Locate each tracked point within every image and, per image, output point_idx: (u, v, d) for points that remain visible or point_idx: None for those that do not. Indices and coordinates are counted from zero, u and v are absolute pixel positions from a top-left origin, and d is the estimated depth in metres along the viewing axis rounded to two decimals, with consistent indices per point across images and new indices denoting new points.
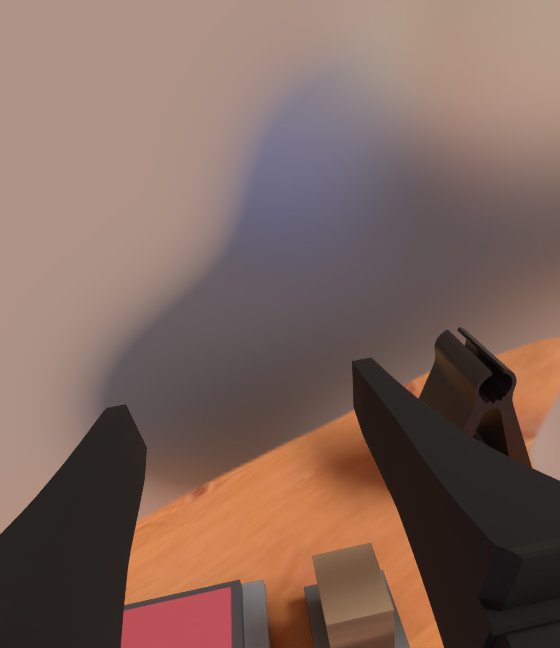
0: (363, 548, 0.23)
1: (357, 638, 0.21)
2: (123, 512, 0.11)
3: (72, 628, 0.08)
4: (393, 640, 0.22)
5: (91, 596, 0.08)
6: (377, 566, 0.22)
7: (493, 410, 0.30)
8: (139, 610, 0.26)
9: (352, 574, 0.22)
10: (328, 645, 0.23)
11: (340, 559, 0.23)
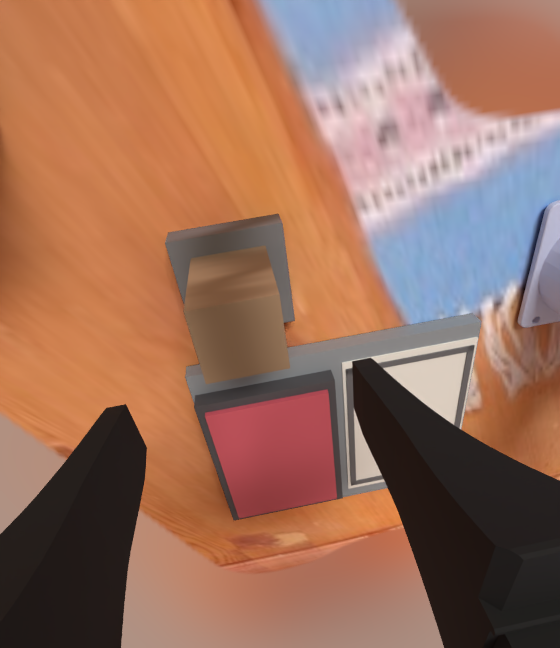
0: (192, 322, 0.15)
1: None
2: (123, 512, 0.11)
3: (72, 628, 0.08)
4: (269, 259, 0.17)
5: (91, 596, 0.08)
6: (220, 306, 0.14)
7: None
8: (229, 479, 0.26)
9: (231, 338, 0.15)
10: None
11: (210, 351, 0.16)
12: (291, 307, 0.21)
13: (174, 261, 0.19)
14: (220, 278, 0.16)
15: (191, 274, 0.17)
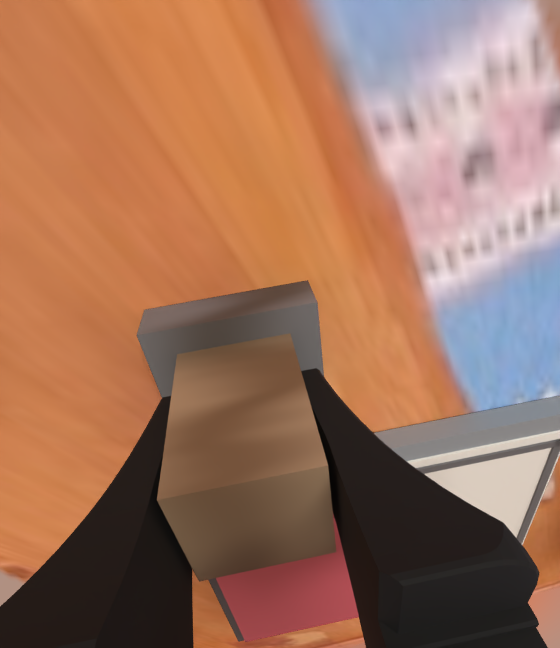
0: (174, 512, 0.08)
1: None
2: None
3: (160, 609, 0.08)
4: (299, 366, 0.11)
5: (170, 579, 0.08)
6: (224, 488, 0.08)
7: None
8: (233, 606, 0.20)
9: (242, 526, 0.09)
10: None
11: (206, 544, 0.09)
12: None
13: (152, 359, 0.12)
14: (222, 407, 0.10)
15: (177, 393, 0.11)
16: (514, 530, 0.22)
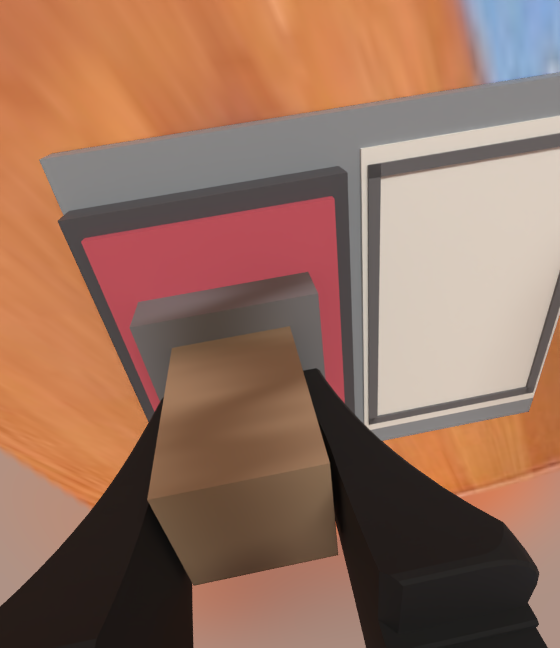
0: (166, 512, 0.08)
1: None
2: None
3: (160, 609, 0.08)
4: (299, 360, 0.11)
5: (170, 579, 0.08)
6: (218, 487, 0.08)
7: None
8: (153, 395, 0.14)
9: (238, 527, 0.08)
10: None
11: (200, 547, 0.09)
12: None
13: (145, 353, 0.12)
14: (218, 403, 0.09)
15: (170, 388, 0.10)
16: (536, 325, 0.17)
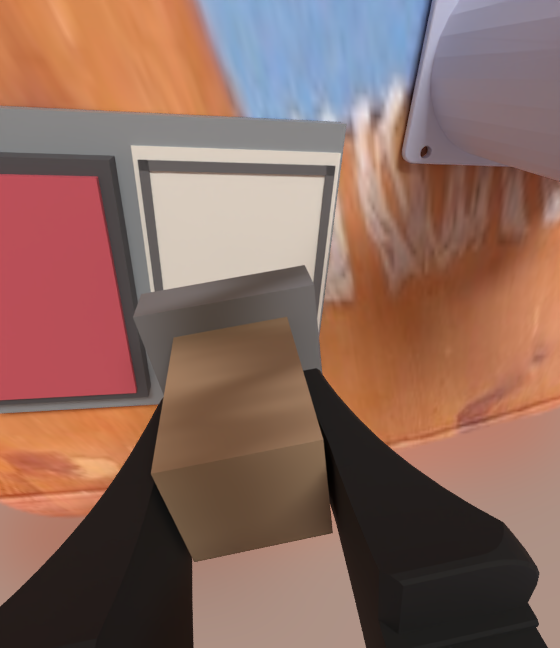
0: (168, 487, 0.08)
1: None
2: None
3: (161, 609, 0.08)
4: (295, 347, 0.11)
5: (170, 579, 0.08)
6: (218, 462, 0.08)
7: None
8: None
9: (237, 503, 0.09)
10: None
11: (200, 522, 0.09)
12: None
13: (148, 342, 0.12)
14: (218, 386, 0.10)
15: (172, 374, 0.11)
16: None
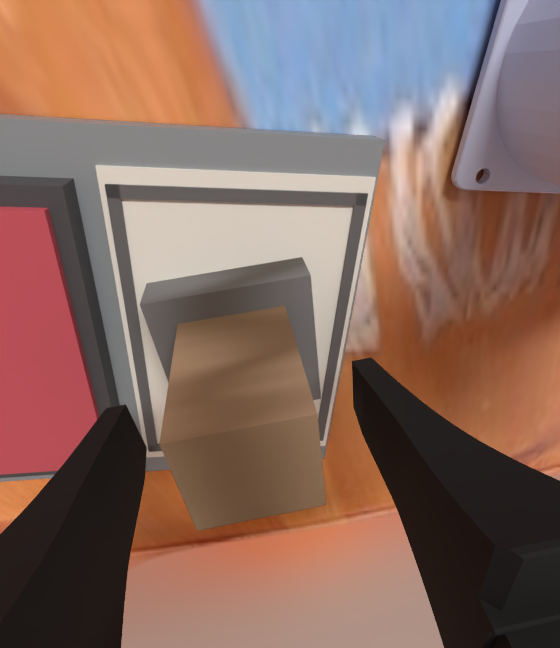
0: (174, 456, 0.09)
1: None
2: (123, 512, 0.11)
3: (72, 628, 0.08)
4: (293, 333, 0.12)
5: (91, 596, 0.08)
6: (221, 434, 0.09)
7: None
8: None
9: (237, 474, 0.10)
10: None
11: (204, 492, 0.10)
12: (317, 383, 0.15)
13: (154, 328, 0.13)
14: (220, 368, 0.11)
15: (177, 357, 0.11)
16: None
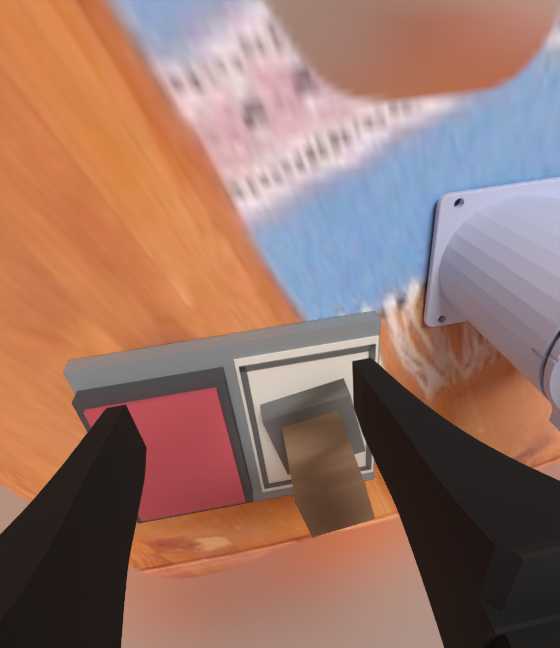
0: (302, 506, 0.20)
1: None
2: (123, 512, 0.11)
3: (72, 628, 0.08)
4: (345, 430, 0.22)
5: (91, 596, 0.08)
6: (321, 495, 0.20)
7: None
8: None
9: (330, 510, 0.20)
10: None
11: (315, 519, 0.21)
12: (362, 443, 0.26)
13: (270, 431, 0.24)
14: (313, 457, 0.22)
15: (288, 451, 0.22)
16: None
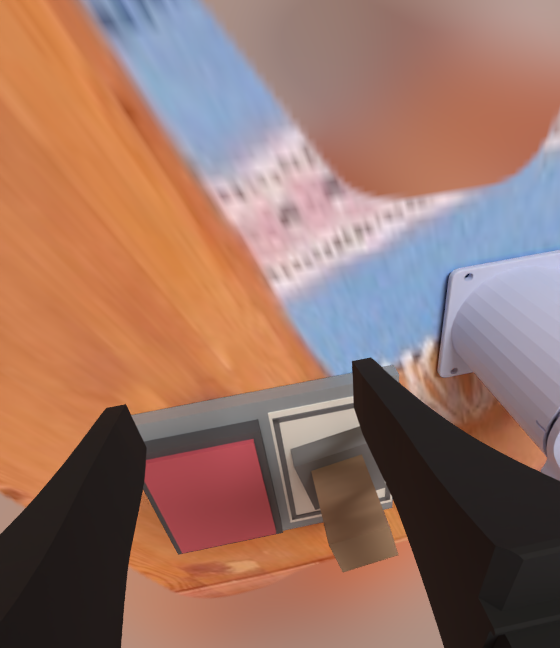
0: (334, 548, 0.23)
1: None
2: (123, 512, 0.11)
3: (72, 628, 0.08)
4: (369, 475, 0.25)
5: (91, 596, 0.08)
6: (352, 538, 0.22)
7: None
8: (167, 519, 0.28)
9: (359, 549, 0.23)
10: None
11: (345, 558, 0.23)
12: (383, 481, 0.28)
13: (300, 474, 0.27)
14: (341, 501, 0.24)
15: (319, 494, 0.25)
16: None
